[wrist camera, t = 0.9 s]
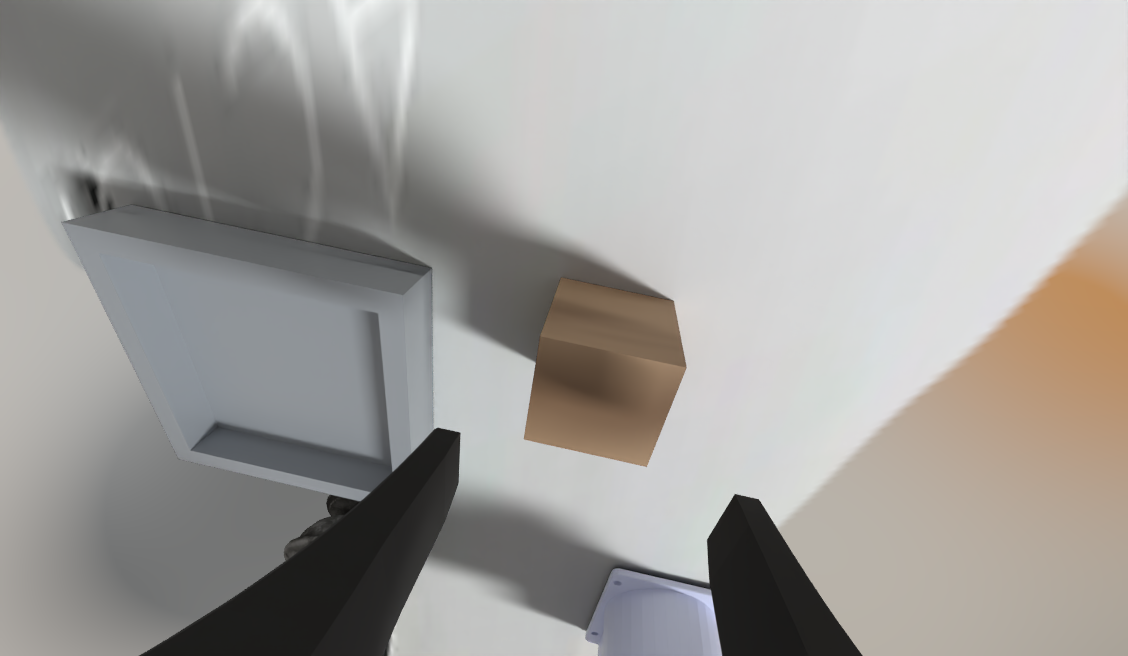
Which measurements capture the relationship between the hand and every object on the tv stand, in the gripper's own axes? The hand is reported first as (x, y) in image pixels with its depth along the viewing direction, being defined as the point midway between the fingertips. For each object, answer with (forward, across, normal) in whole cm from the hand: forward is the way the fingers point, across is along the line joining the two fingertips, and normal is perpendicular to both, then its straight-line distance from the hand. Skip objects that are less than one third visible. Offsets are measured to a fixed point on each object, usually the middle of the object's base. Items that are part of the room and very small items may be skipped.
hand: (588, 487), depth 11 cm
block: (+8, 0, 0) cm, 8 cm away
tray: (+8, +14, +5) cm, 17 cm away
